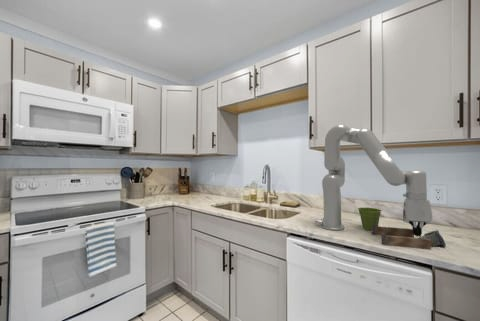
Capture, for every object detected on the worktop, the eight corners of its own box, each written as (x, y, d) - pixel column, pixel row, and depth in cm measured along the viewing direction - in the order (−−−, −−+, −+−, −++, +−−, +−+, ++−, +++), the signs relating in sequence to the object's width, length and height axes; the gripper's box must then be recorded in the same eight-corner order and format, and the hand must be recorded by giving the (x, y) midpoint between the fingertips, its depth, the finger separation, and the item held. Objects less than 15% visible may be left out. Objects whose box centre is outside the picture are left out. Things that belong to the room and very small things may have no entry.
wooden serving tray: (383, 244, 97) (382, 234, 97) (372, 233, 114) (371, 224, 114) (431, 249, 92) (430, 238, 92) (412, 236, 108) (412, 227, 108)
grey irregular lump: (409, 239, 106) (415, 227, 99) (423, 235, 106) (431, 223, 98) (424, 258, 99) (432, 246, 91) (439, 254, 99) (449, 242, 91)
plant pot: (356, 225, 129) (356, 206, 129) (379, 227, 125) (378, 208, 125) (360, 231, 118) (359, 210, 118) (385, 233, 114) (384, 212, 114)
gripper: (401, 197, 100) (401, 236, 99) (440, 198, 95) (441, 239, 95) (394, 195, 107) (395, 231, 106) (431, 196, 102) (432, 234, 102)
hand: (417, 235), depth 101 cm, fingers closed
